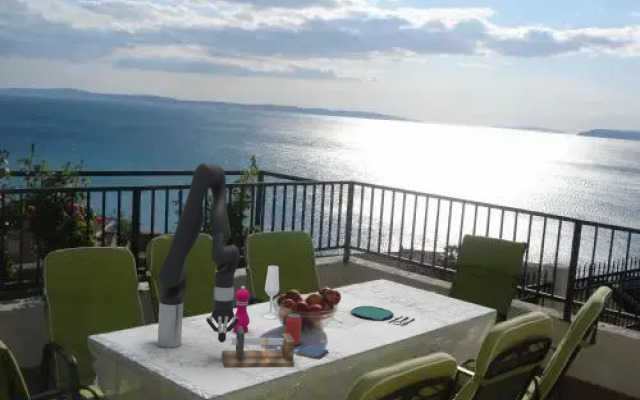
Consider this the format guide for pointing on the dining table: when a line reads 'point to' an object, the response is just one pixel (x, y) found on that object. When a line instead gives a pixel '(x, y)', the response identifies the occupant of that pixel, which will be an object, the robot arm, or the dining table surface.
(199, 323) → the dining table surface
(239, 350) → the dark grey block
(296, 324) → the beer can
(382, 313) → the cutlery set
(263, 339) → the light grey beam
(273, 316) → the champagne flute
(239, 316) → the pepper mill
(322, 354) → the woven mat
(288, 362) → the base board
